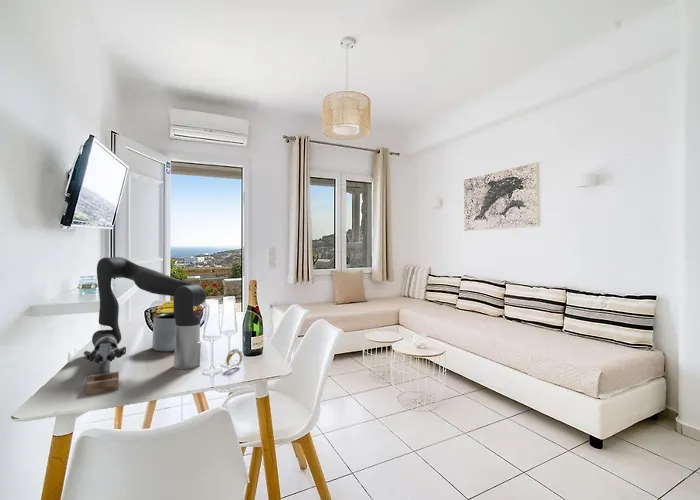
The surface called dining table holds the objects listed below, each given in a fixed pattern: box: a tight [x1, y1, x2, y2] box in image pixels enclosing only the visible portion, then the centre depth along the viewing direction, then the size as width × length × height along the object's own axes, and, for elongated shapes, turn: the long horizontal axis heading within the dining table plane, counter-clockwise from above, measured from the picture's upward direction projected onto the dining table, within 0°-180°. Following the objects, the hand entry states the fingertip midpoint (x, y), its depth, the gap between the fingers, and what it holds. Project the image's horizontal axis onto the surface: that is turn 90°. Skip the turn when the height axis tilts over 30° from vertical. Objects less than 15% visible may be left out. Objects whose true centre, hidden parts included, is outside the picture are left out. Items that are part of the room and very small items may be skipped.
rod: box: [98, 343, 111, 374], centre depth 125 cm, size 3×3×12 cm
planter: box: [151, 312, 176, 353], centre depth 163 cm, size 16×16×16 cm
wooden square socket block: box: [85, 371, 120, 396], centre depth 115 cm, size 9×9×4 cm
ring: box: [225, 347, 244, 367], centre depth 138 cm, size 7×3×8 cm, turn 138°
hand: (104, 359), depth 123 cm, fingers closed on rod, 3 cm apart
